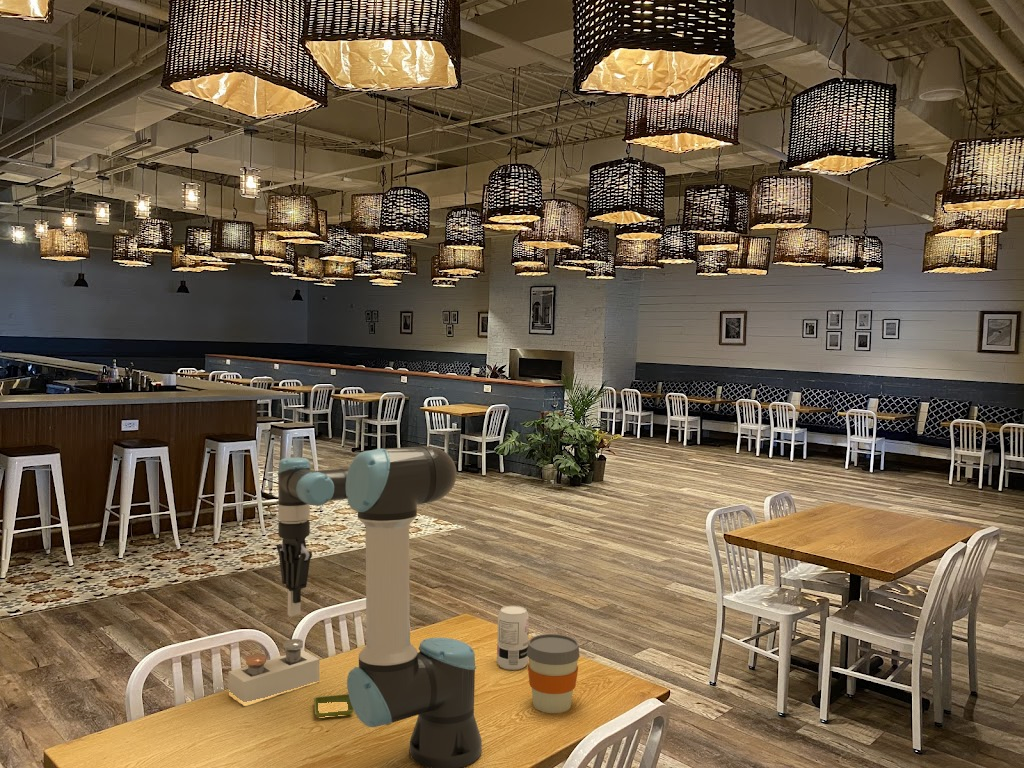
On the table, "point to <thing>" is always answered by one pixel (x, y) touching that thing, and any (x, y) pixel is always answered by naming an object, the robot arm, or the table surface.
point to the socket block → (273, 677)
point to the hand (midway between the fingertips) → (294, 614)
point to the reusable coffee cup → (552, 671)
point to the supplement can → (512, 637)
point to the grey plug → (293, 651)
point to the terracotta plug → (255, 664)
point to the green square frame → (331, 699)
